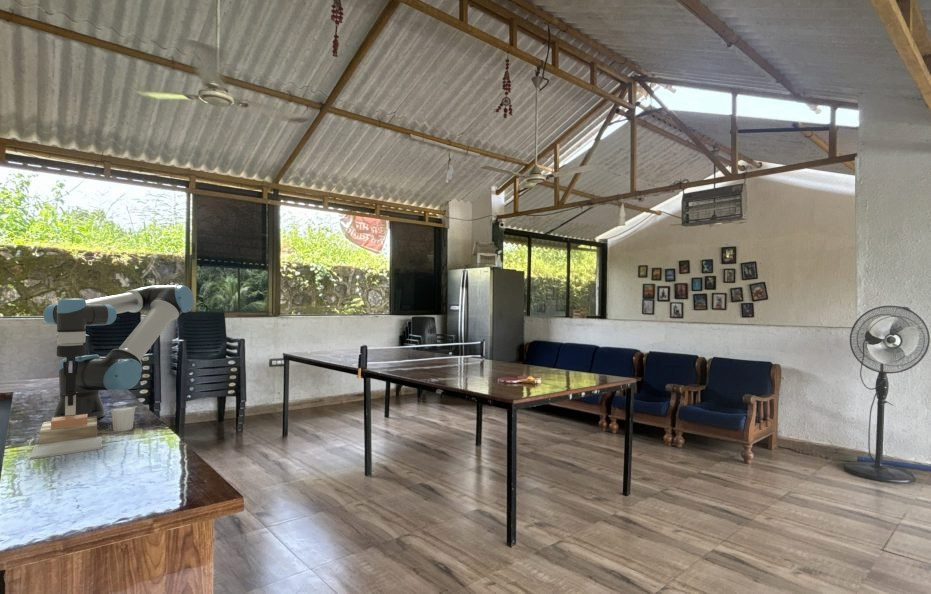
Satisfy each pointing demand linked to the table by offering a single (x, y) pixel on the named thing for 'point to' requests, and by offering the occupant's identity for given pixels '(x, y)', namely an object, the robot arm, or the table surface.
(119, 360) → the robot arm
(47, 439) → the board
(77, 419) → the terracotta block
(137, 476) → the table surface
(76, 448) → the grey mat
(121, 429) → the shot glass
